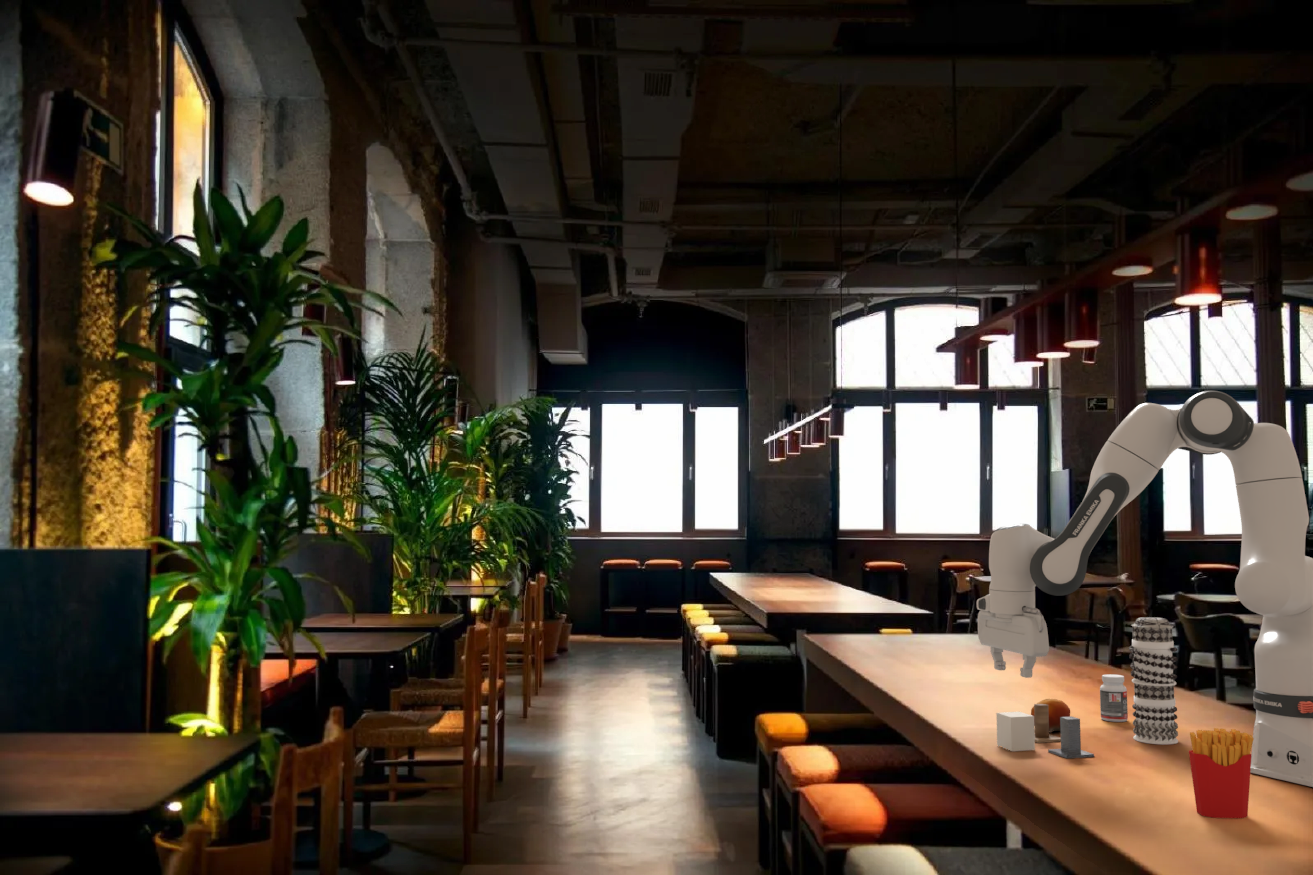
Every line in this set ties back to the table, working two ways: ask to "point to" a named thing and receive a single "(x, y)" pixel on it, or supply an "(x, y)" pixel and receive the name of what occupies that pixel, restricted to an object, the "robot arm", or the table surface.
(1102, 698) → the pill bottle
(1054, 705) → the fruit
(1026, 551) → the robot arm
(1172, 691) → the black white cylinder
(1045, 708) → the knob on square plate
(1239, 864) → the table surface
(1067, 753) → the grey square post stand
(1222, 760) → the french fries
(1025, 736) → the white rectangular block
